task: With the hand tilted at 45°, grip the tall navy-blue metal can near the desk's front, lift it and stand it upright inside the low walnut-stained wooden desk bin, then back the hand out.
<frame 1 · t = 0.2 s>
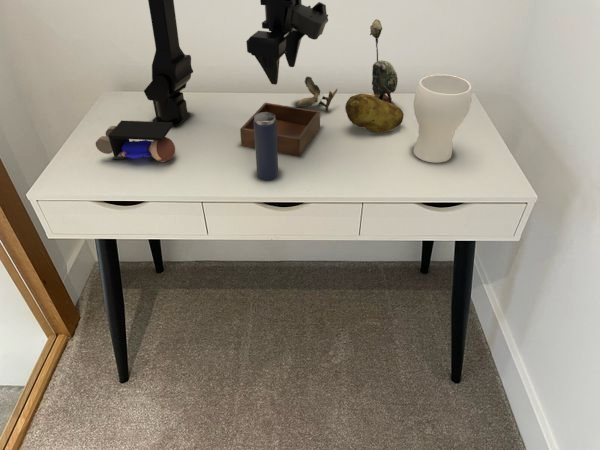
hand: (283, 75, 100), 15 cm above the table, tool pointing down, fingers open, 9 cm apart
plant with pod: (379, 108, 121), on the table
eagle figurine: (314, 107, 121), on the table
potato: (373, 129, 113), on the table
cup: (432, 153, 104), on the table
desk bin: (281, 136, 110), on the table
figurine character: (141, 158, 103), on the table
can: (267, 174, 98), on the table
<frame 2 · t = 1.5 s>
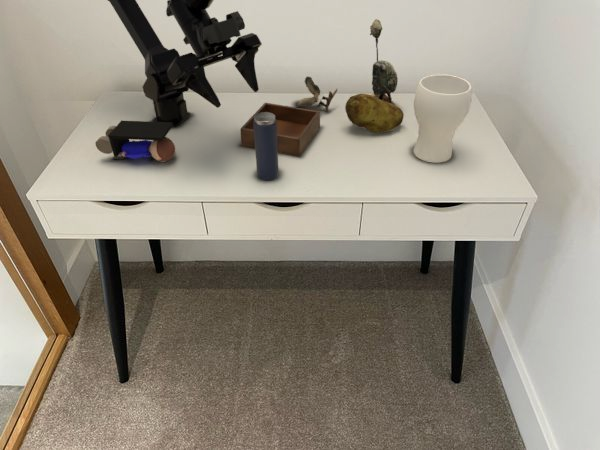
hand: (238, 98, 94), 13 cm above the table, tool tilted 45°, fingers open, 9 cm apart
nothing on the table moved.
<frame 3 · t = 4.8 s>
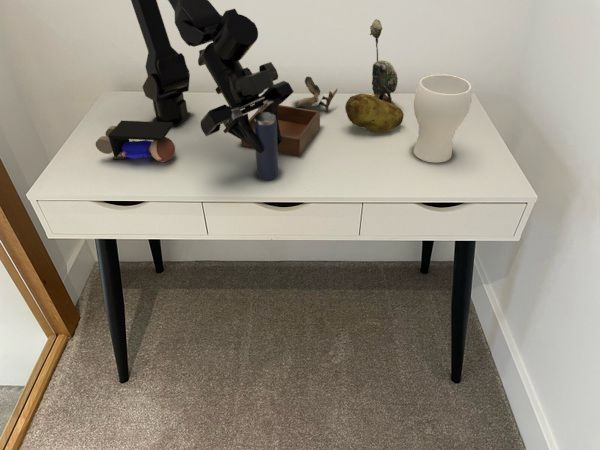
hand: (271, 147, 93), 7 cm above the table, tool tilted 45°, fingers closed on can, 4 cm apart
can: (267, 174, 98), on the table, touching gripper
everything else where it was.
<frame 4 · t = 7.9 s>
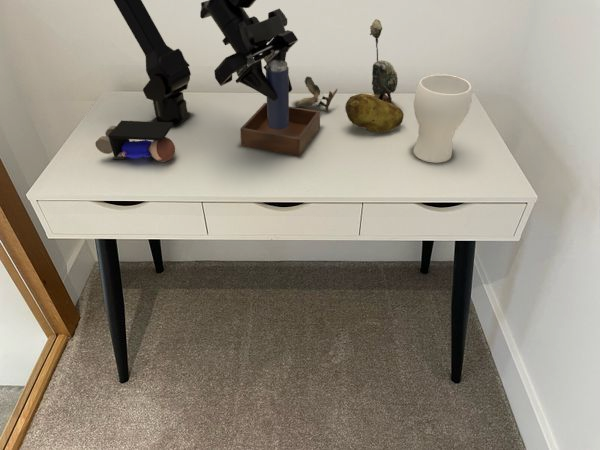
hand: (283, 95, 95), 13 cm above the table, tool tilted 45°, fingers closed on can, 4 cm apart
can: (278, 124, 100), point 7 cm above the table, touching gripper
everything else where it was.
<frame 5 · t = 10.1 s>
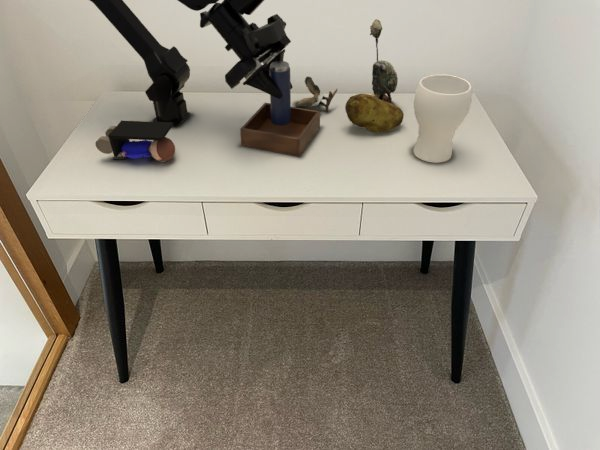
hand: (286, 93, 103), 10 cm above the table, tool tilted 45°, fingers closed on can, 4 cm apart
can: (280, 121, 108), point 4 cm above the table, touching gripper
everything else where it was.
when the fingers open (7 cm above the table, at t = 11.4 s): can stays where it is, resting on desk bin.
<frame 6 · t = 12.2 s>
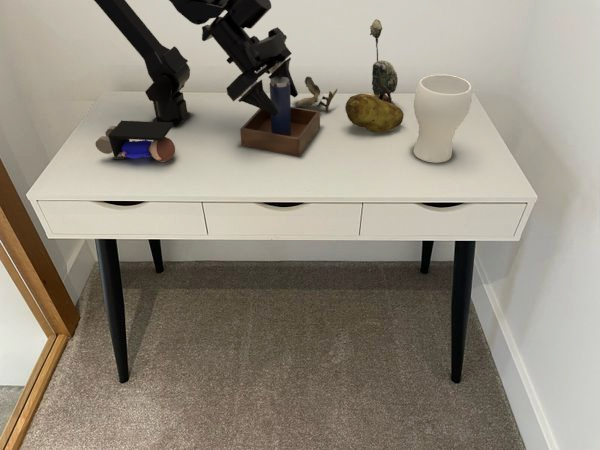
hand: (287, 104, 105), 8 cm above the table, tool tilted 45°, fingers open, 9 cm apart
can: (281, 134, 110), resting on desk bin
everything else where it was.
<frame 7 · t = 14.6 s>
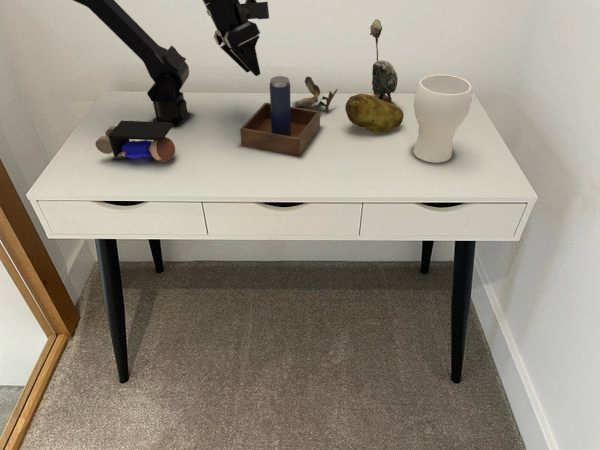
hand: (253, 73, 106), 12 cm above the table, tool tilted 25°, fingers open, 9 cm apart
nothing on the table moved.
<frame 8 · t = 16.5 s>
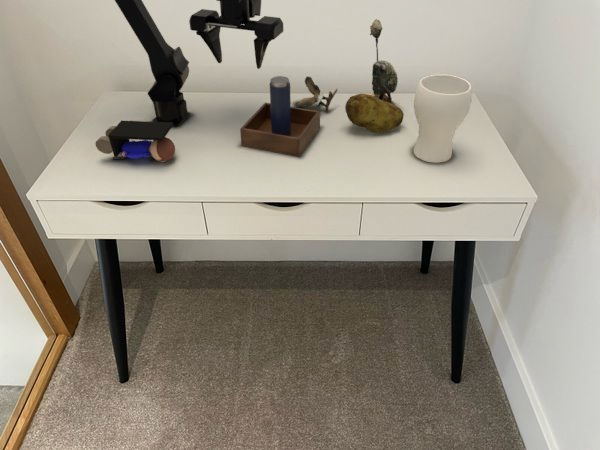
hand: (239, 65, 108), 13 cm above the table, tool pointing down, fingers open, 9 cm apart
nothing on the table moved.
at the end: can inside the target area in the desk bin (0.1 cm from its centre), point 0.5 cm above the desk bin's base; can tilted 0°; the gripper is holding nothing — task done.
